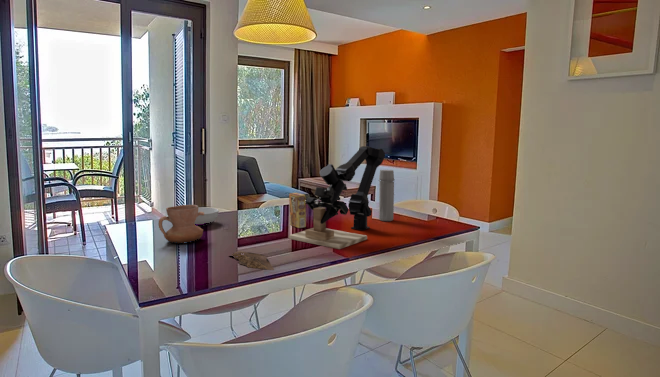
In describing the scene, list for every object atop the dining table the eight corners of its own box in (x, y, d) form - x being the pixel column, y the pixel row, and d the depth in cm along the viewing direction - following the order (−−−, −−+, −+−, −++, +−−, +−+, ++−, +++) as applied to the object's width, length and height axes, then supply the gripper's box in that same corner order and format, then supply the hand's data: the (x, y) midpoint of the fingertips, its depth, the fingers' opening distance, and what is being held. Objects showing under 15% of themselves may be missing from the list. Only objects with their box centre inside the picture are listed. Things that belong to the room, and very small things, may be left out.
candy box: (306, 227, 197) (306, 194, 195) (298, 228, 195) (297, 195, 193) (297, 223, 205) (296, 192, 203) (289, 225, 202) (288, 193, 200)
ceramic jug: (201, 234, 183) (198, 202, 181) (210, 241, 171) (208, 207, 169) (156, 241, 174) (153, 207, 172) (163, 249, 162) (160, 212, 160)
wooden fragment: (224, 255, 155) (224, 252, 154) (252, 250, 161) (252, 247, 160) (254, 275, 133) (253, 271, 133) (285, 268, 140) (285, 265, 139)
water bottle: (382, 218, 218) (383, 169, 215) (396, 219, 213) (397, 170, 210) (373, 221, 211) (374, 170, 207) (387, 223, 206) (388, 171, 203)
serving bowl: (212, 229, 193) (211, 214, 192) (166, 229, 193) (165, 214, 193) (224, 220, 214) (223, 206, 213) (182, 220, 214) (181, 206, 213)
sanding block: (314, 234, 178) (314, 205, 176) (334, 237, 172) (334, 208, 170) (305, 237, 173) (305, 208, 171) (324, 240, 167) (324, 210, 165)
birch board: (318, 230, 191) (318, 226, 191) (367, 239, 176) (367, 235, 175) (289, 238, 177) (289, 235, 176) (339, 249, 161) (339, 245, 161)
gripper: (307, 178, 178) (290, 208, 171) (344, 181, 167) (327, 213, 159) (319, 194, 185) (303, 223, 178) (355, 198, 174) (339, 230, 167)
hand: (317, 222), depth 170 cm, fingers closed on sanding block, 3 cm apart
